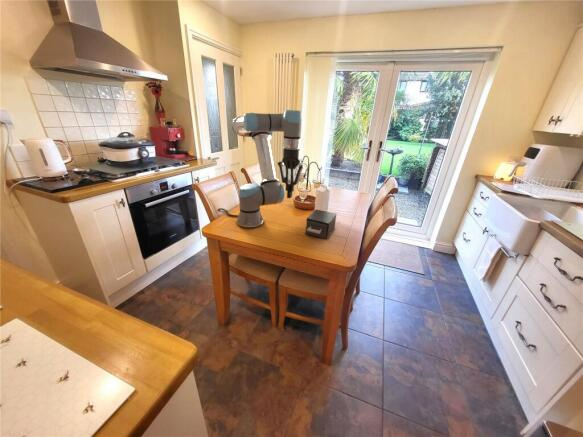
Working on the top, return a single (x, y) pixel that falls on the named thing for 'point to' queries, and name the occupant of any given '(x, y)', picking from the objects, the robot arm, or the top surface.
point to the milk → (322, 198)
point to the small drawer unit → (324, 219)
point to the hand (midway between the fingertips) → (289, 197)
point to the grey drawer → (316, 229)
